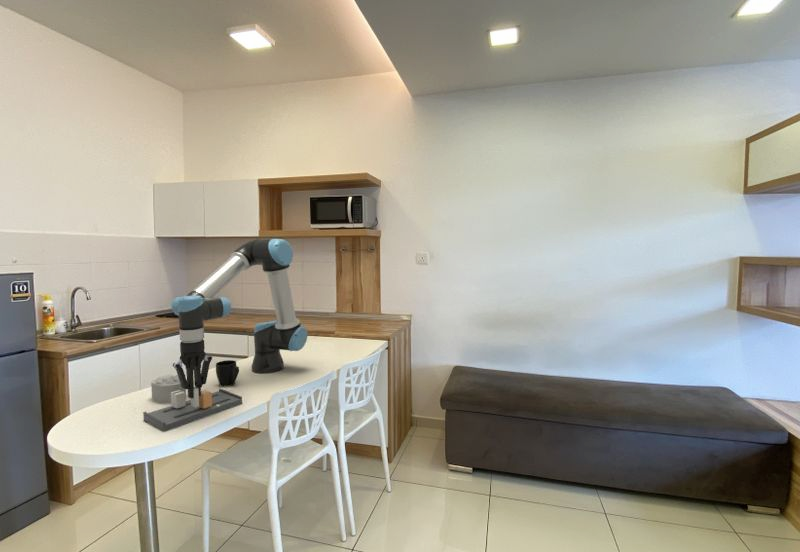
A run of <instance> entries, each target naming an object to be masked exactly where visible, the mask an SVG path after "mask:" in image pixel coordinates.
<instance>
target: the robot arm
mask: <svg viewBox="0 0 800 552" xmlns="http://www.w3.org/2000/svg"><path fill="white" fill-rule="evenodd" d="M293 257H294V252H293V248H292V246H291V244H290V243H289V242H288V241H286V240H285V239H280V238H256V239H255V238H254V239H251V240H249V241H247V242H244V243H243V244H242V245H241V246H239V247H237V248H236V249H235V250H234V251H233V252H231V253H230V255H229V257H228V258H227V260H226V261H225V262H224V263H222V264H221V265H220V266H219V267H218V268H216V270H214V271H212V273H211V274H210V275H208V276H207V277H206V278H205V279H204V280H203V281H202V282H200V283H199V284H198V285H197V286H196V287H194V288H193V289H192V290H191V291H190V292H188V294H186V295H183V296H182V295H181V296H178V297H175V298H174V299H173V300H172V303H171V310H172V312H173V313H174V315H175V316H178V326H179V329H178V330H179V331H178V332H179V341H180V342H179V348H180V356H179V360H178V361H177V362H173V363H172V367H173V368H174V369H175V370H176V375H177V374H178V377H179V380H180V383H181V386H182V388H184V389H186V390H187V396H188V399H190V400H191V406H193V407H198V406H199V396H201V391H202V388H203V385H206V383H207V380H208V375H209V369H210V364H211V362H212V361H213V356H211V355H207V353H206V351H205V340H204V339H205V329H204V328H205V327H204V325H205V323H204V322H206V321H210V320H215V319H221V318H224V317H227V316H228V315H230V313H231V311H232V304H231V301H230V300H229V299H228V298H227V297H225V296H224V297H223V296H221V297H219V296H217V295H218V294H220V292H221V291H222V290H223V289H225V288H226V287H227V286H228V285H229V284H230V283H231V282H232V281H233V280H234V279H236V278H237V277H238V276H239V274H241V273H242V272H243V271H247V270H249V268H251V267H253V266H257V265H258V266H261V267H262V271H263V273H266V274H267V277H268V278H267V279H268V283H269V287H270V293H271V298H272V302H273V303H272V304H273V307H274V313H275V317H276V320H270V321H266V322H259V323H257V324H255V325H254V327H253V328H254V329H253V331H254V332H253V338H254V340H253V341H254V342H253V343H254V356H253V359H252V364H251V372H252V373H256V374H270V373H275V372H278V371H281V370H283V369H284V368H285V363H284V358H283V357H282V355H281V350H282V351H289V352H293V351H294V352H298V351H300V350H302V349H303V348H304V347H305V345H306V343H307V341H308V330H307V328H306V327H305V326H302V325H301V321H300V319H299V318H297V316H296V312H295V311H296V310H295V306H294V301H293V296H292V291H291V290H292V289H291V284H290V279H289V274H288V270H289V269H290V264H291V263H292V262H293ZM216 296H217V297H216ZM183 366H185V371H186V372H185V371H184V369H183ZM185 373H186V375H185Z"/></svg>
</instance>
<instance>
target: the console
mask: <svg viewBox="0 0 800 552" xmlns="http://www.w3.org/2000/svg"><path fill="white" fill-rule="evenodd" d="M242 404H243V397H242V396H240V395H238V394H235V393H234V392H231V391H228V390H225V389H223V388H218V391H214V392H212V406H210V407H207V408H201V407H199V406H198V407H193V406H191V399H189V400H185V406H183V407H180V408H174V407H172V406H171V405H170V406H167V407H163V408H161V409H157V410H154V411H151V412H146V411H143V412H142V413H143V415H142V416H143V421H144V422H145V423H148V424H150V425H152V426H153V427H155V428H156V429H159V430H161V431H162V432H163V433H164V432H167V431H170V430H173V429H175V428H178V427H181V426H183V425H187V424H191V423H192V422H195V421H198V420H200V419H203V418H207V417H208V416H212V415H214V414H218V413H220V412H223V411H225V410H229V409H231V408H234V407H237V406H241V405H242Z"/></svg>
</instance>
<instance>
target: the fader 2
mask: <svg viewBox="0 0 800 552" xmlns="http://www.w3.org/2000/svg"><path fill="white" fill-rule="evenodd" d="M212 393H213V392H212V391H210V390H207V389H205V390H201V396H199V407H201V408H207V407H210V406H212Z"/></svg>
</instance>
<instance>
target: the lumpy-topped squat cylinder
mask: <svg viewBox="0 0 800 552" xmlns="http://www.w3.org/2000/svg"><path fill="white" fill-rule="evenodd" d="M150 386H151V400H152V402H154V403H156V404H164V405H165V404H166V405H167V404H171V392H174V391H178V390H180V391H181V390H182V391H183V392H185V399H187V389H184V388H182V386H181V383H180V380H179V377H178V374H177V373H176V375H173V374H167V375H163V376H159V377H157V378H155V379H154V380H152V381H151V385H150Z"/></svg>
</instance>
